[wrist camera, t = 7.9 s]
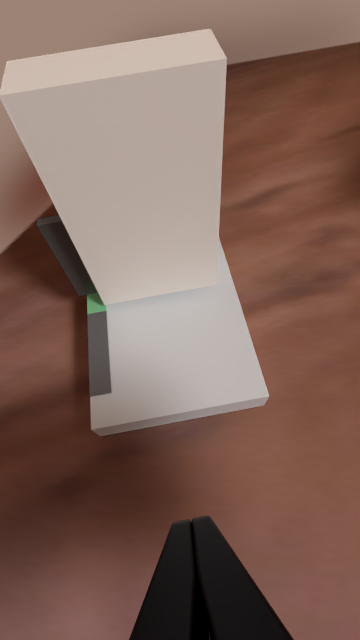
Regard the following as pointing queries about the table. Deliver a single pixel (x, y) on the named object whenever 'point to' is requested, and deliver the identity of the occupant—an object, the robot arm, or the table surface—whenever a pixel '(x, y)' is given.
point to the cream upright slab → (127, 160)
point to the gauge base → (171, 357)
